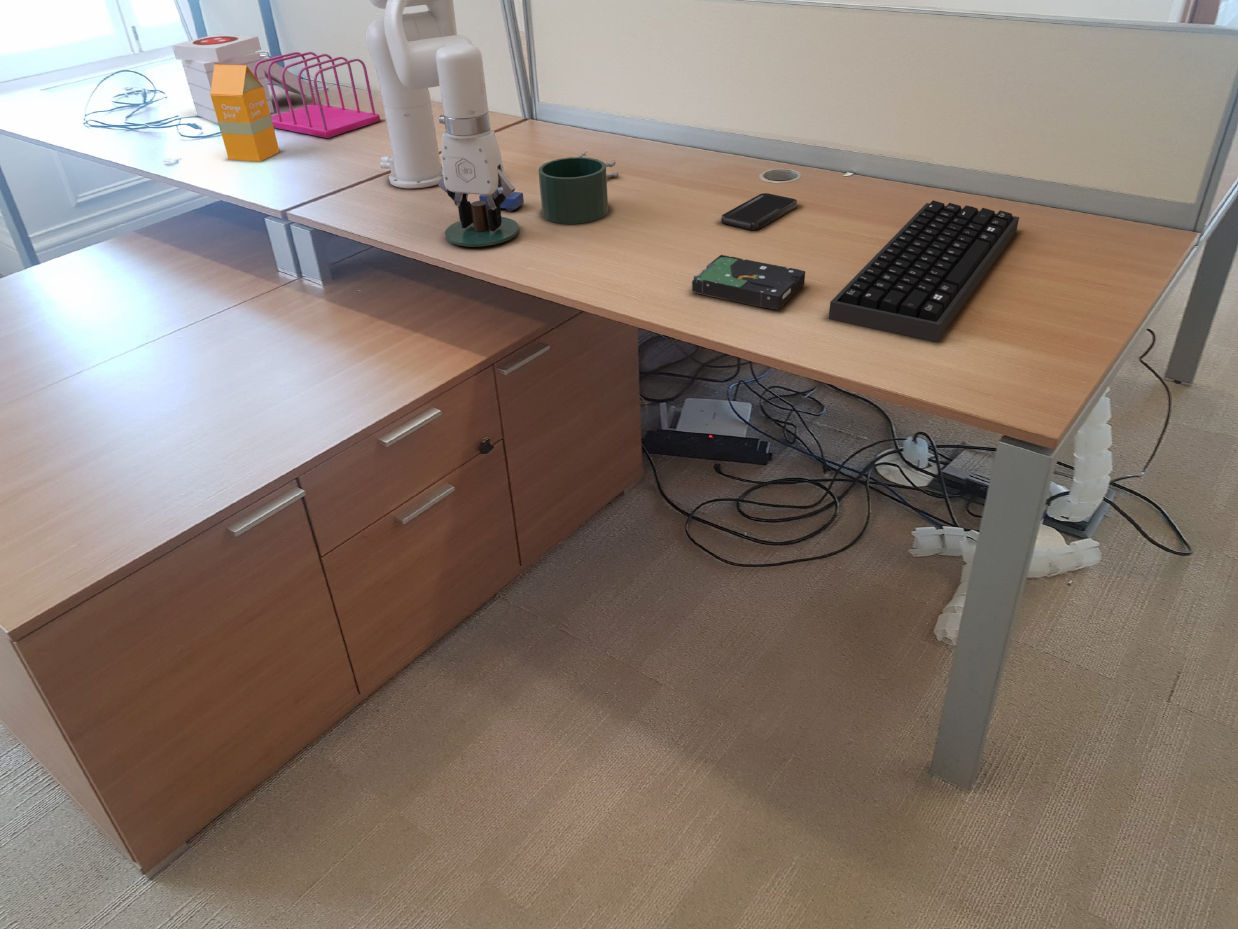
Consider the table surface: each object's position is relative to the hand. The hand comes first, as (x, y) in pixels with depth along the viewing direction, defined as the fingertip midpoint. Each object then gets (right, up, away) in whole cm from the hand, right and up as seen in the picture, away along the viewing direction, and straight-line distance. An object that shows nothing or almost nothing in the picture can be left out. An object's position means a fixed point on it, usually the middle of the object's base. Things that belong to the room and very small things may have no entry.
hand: (481, 226), depth 169 cm
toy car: (+2, +7, +13) cm, 14 cm away
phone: (+51, +3, +3) cm, 51 cm away
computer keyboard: (+74, -13, -20) cm, 78 cm away
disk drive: (+45, -16, -23) cm, 53 cm away
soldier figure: (+19, +15, +23) cm, 33 cm away
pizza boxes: (-74, +53, +84) cm, 123 cm away
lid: (0, -1, +1) cm, 1 cm away
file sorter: (-51, +43, +68) cm, 95 cm away
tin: (+17, +5, +9) cm, 19 cm away
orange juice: (-60, +29, +48) cm, 82 cm away
